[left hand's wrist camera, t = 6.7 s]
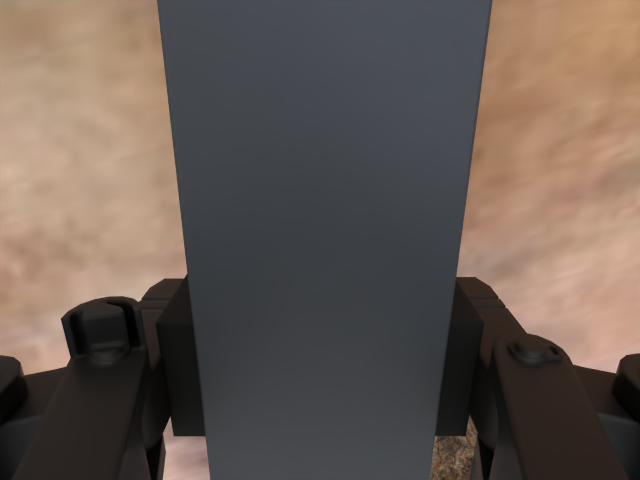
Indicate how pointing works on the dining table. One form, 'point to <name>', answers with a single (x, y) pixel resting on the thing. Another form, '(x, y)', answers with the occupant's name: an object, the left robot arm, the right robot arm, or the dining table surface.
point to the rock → (454, 455)
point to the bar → (322, 223)
